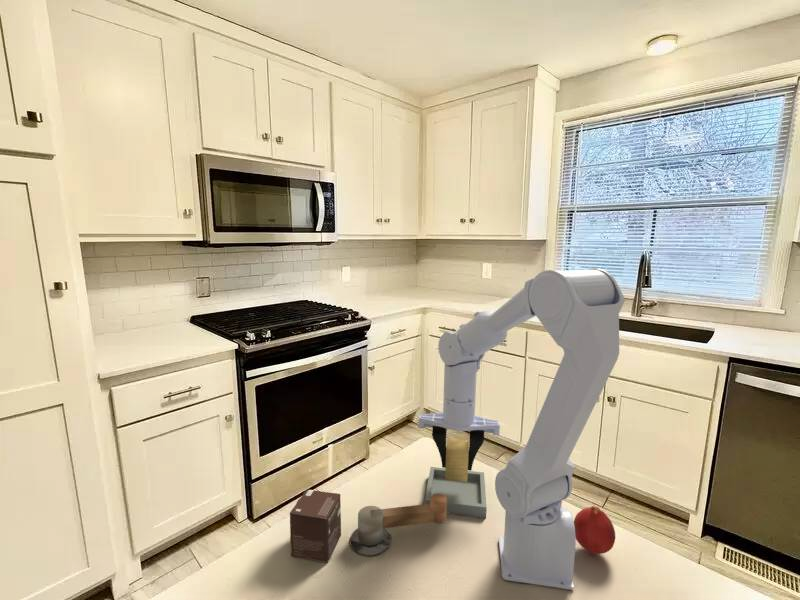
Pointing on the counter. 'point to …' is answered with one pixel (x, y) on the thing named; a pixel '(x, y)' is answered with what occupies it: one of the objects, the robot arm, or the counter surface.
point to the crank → (398, 518)
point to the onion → (594, 530)
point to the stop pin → (457, 460)
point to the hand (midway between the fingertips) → (456, 466)
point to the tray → (459, 492)
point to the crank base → (370, 550)
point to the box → (315, 525)
